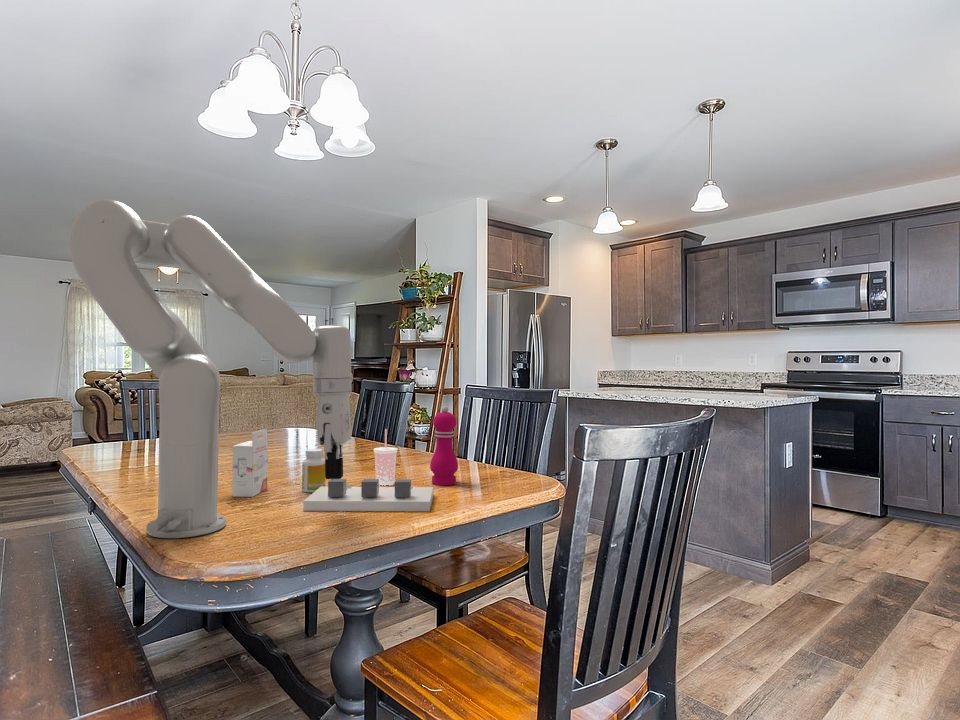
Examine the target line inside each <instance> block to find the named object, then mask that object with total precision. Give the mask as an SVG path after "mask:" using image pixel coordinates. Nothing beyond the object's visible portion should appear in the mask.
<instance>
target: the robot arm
mask: <svg viewBox="0 0 960 720" xmlns="http://www.w3.org/2000/svg"><path fill="white" fill-rule="evenodd" d="M68 246H69V253H70V258H71V263H72V264H73V268H74V269H75V271H76V273H77V275H78V277H79V279H80V280H81V282H82V284H83V285H84V287H86V290H87V291H88V292H89V294H90V295H91V296H92V297H93V298H94V301H96V302H97V304H98V306H99V307H100V309H101V310H102V311H103V313H105V315H106V316H107V318H108V319H109V320H110V322H111V323H112V324H113V326H114V327H115V328H116V330H117V331H118V332H119V334H120V335H121V337H122V338H123V340H124V342H125V344H126V345H128V347H129V348H130V349H131V350H132V351H134V352H135V353H137V354H139V355H140V357H142V359H143V361H145V363H146V364H147V365H148V366H149V368H150V369H151V371H152V372H154V374H155V375H156V377H157V378H158V380H159V382H158V406H159V409H158V410H159V429H158V431H159V433H158V434H159V435H158V437H159V439H158V444H159V445H158V446H159V449H158V487H157V491H158V493H157V517H156V518H155V519H154V520H152V521H149V522H148V523H147V524H146V534H147V535H149V536H151V537H154V538H159V539H181V538H193V537H198V536H203V535H207V534H212V533H214V532H217V531H219V530H221V529H223V528H224V527H225V526H226V525H227V517H225V516H224V515H222V514H218V490H219V489H218V484H219V482H218V479H219V446H220V445H219V436H220V435H219V432H220V431H219V429H220V399H221V398H220V397H221V396H220V395H221V374H220V372H219V369H218V367H217V366H216V365H215V363H214V362H213V361H212V360H211V358H210V357H209V355H207V353H206V352H205V351H204V349H203V348H202V347H201V345H200V344H199V342H198V341H197V340H196V338H195V337H194V336H193V334H192V333H191V332H190V330H189V329H188V328H187V326H186V325H185V324H184V323H183V321H182V320H181V318H180V317H179V316H178V315H177V314H176V313H175V312H174V311H173V310H172V309H170V308H169V307H168V306H167V305H166V303H165V302H164V301H163V299H161V297H160V296H159V295H158V293H157V292H156V290H154V288H153V287H152V285H151V284H150V283H149V281H148V279H147V278H146V277H145V275H144V274H143V272H141V270H140V269H139V267H138V266H137V264H139V265H149V266H156V267H157V266H158V267H163V268H165V267H166V268H173V269H183V270H186V271H187V272H189V273H190V274H191V276H192V277H193V278H194V279H196V281H198V282H199V284H201V286H203V288H204V289H206V290H207V292H208V293H210V294H211V296H212V297H213V298H214V299H215V300H216V301H218V303H219V304H220V305H222V306H223V307H224V308H225V309H226V310H229V311H231V313H233V314H235V315H237V316H239V317H240V318H241V319H242V320H244V322H246V323H247V324H248V325H249V326H250V327H251V328H252V329H254V330H255V331H256V332H257V334H259V335H260V336H261V338H262V339H263V340H265V342H267V343H268V345H269V346H270V351H271V352H272V354H273V356H274V357H275V358H276V359H278V360H279V361H280V362H283V363H286V364H296V363H302V362H308V361H312V388H313V389H312V390H313V393H312V395H313V396H317V403H316V405H317V409H316V410H317V411H316V431H317V432H316V437H317V443H318V445H320V446H323V453H324V459H325V480H331V479H343V478H342V477H344V461H343V459H344V457H343V454H344V451H343V447H344V446H343V445H345V444H346V443H347V442H348V441H350V440H351V439H352V418H351V406H350V397H349V395H352V393H353V392H352V389H353V386H352V345H351V342H352V339H351V338H352V337H351V332H350V331H351V330H350V329H349V328H348V327H346V326H341V325H321V326H316V327H315V328H312V327H310V326H309V325H308V324H307V323H306V321H305V320H304V319H303V318H302V317H301V316H300V315H299V314H298V313H297V312H296V311H295V310H294V308H292V307H291V305H290V304H288V303H287V301H285V299H283V298H282V296H280V294H278V293H277V292H276V291H275V290H274V289H273V288H272V287H271V286H269V285H268V284H267V283H266V282H265V280H263V278H261V277H260V276H259V275H258V273H256V272H255V271H254V270H253V269H252V268H251V267H250V266H249V265H248V264H247V263H246V262H245V261H244V260H243V259H242V258H241V257H240V256H239V254H237V253H236V252H235V250H233V248H232V247H231V246H230V245H229V244H228V243H227V242H226V241H225V240H224V239H223V238H222V236H220V234H218V232H217V231H215V229H214V228H213V227H212V226H211V225H209V224H208V223H207V222H206V221H205V220H203V219H202V218H200V217H198V216H194V215H191V214H190V215H187V214H186V215H181V216H178V217H176V218H174V219H172V220H171V221H170V222H169V223H165V222H164V223H163V222H157V221H150V220H147V219H146V220H145V219H141V217H140V216H139V214H138V213H136V211H134V210H133V208H132V207H130V206H128V205H127V204H125V203H123V202H121V201H118V200H114V199H109V198H107V199H105V198H104V199H97V200H94V201H92V202H91V203H89V204H87V205H86V206H84V208H82V210H81V211H80V212H79V213H78V214H77V216H76V217H75V218H74V222H73V223H72V226H71V228H70V232H69V240H68Z"/></svg>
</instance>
